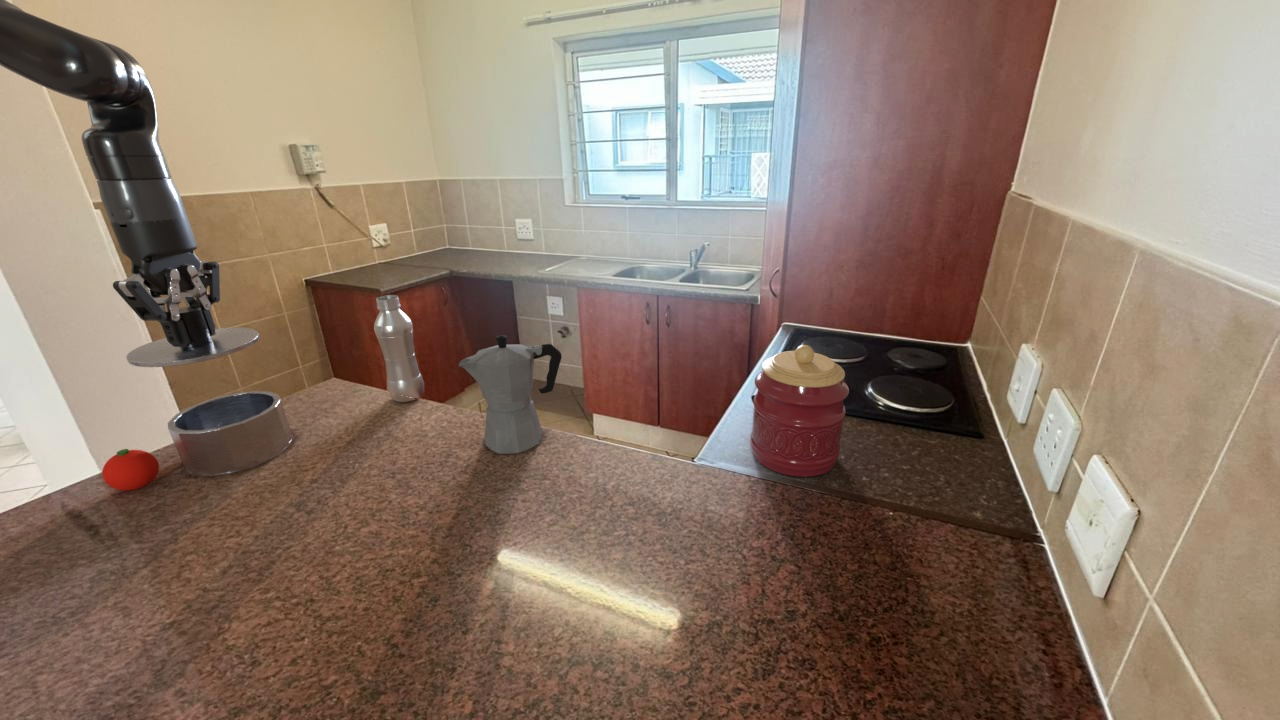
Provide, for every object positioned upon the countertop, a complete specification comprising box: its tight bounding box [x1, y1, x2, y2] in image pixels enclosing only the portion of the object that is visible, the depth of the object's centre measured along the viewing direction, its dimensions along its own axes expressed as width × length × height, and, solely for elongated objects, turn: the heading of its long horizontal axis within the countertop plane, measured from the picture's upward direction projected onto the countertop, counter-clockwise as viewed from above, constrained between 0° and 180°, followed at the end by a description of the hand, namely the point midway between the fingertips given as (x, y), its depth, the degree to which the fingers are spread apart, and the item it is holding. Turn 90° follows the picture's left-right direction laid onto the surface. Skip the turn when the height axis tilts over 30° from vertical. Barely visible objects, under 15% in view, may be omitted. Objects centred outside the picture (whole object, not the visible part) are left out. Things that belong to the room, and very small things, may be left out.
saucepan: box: [167, 390, 294, 478], centre depth 78 cm, size 14×14×8 cm
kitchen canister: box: [749, 344, 850, 478], centre depth 73 cm, size 13×13×18 cm
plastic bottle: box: [373, 294, 425, 403], centre depth 92 cm, size 6×7×20 cm
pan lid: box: [125, 306, 260, 368], centre depth 71 cm, size 15×15×6 cm
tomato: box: [101, 448, 160, 492], centre depth 70 cm, size 6×6×6 cm
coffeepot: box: [458, 334, 563, 455], centre depth 78 cm, size 15×9×18 cm, turn 112°
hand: (194, 340), depth 71 cm, fingers closed on pan lid, 3 cm apart
